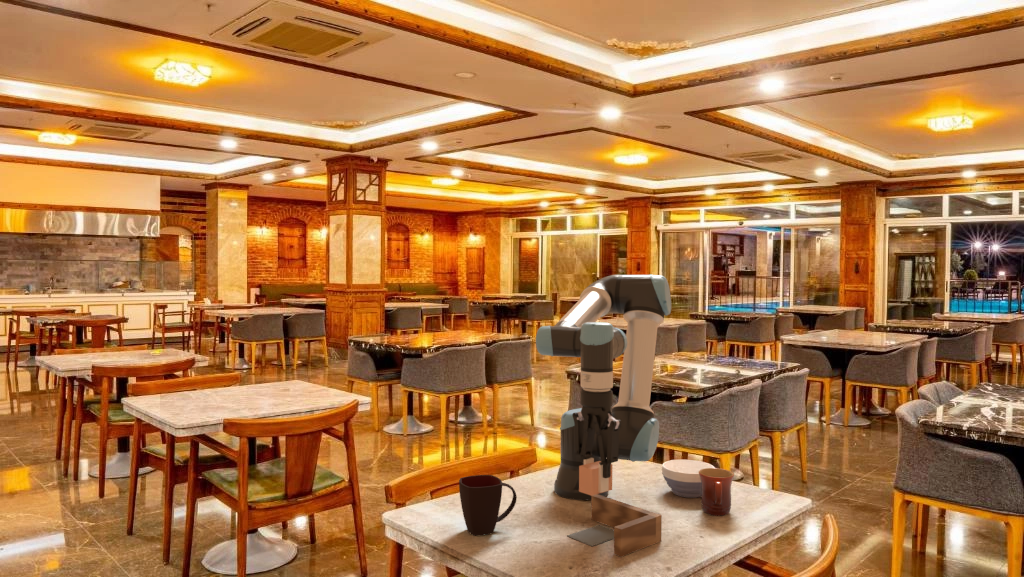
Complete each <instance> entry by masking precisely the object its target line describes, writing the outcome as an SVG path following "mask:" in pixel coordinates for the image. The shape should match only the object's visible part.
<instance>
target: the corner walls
mask: <svg viewBox="0 0 1024 577" xmlns="http://www.w3.org/2000/svg"><path fill="white" fill-rule="evenodd" d="M590 510H591V515H590V516H591V518H590V519H591V521H594V522H597V523H599V524H601V525H604V526H605V525H606V526H607V527H610V528H614V529H613V530H614V539H613V540H614V541H613V554H614V555H615V556H618V557H620V558H622V557H624V556H627V555H629V554H631V553H632V554H633V553H636V552H638V551H640V550H642V549H644V548H645V549H646V548H647V547H650V546H652V545H655V544H658V543H660V542H662V522H663V521H662V519H663V518H662V515H663V514H659V513H657V512H653V511H650V510H647V509H644V508H641V507H638V506H634V505H632V504H629V503H626V502H622V501H619V500H617V499H613V498H610V497H607V496H602V495H598V494H596V495H592V500H591V509H590Z"/></svg>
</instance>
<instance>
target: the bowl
mask: <svg viewBox="0 0 1024 577" xmlns="http://www.w3.org/2000/svg"><path fill="white" fill-rule="evenodd" d="M706 468H716V467H715V466H714V465H712V464H711V463H708V462H705V461H701V460H695V459H671V460H667V461H665V462H663V463H662V465H661V474H662V476H663V479H664V480H665V482H666V485H667V486H668V487H669V488H670V489H671V490H670V491H671V492H672V493H673V494H674V495H675V496H678V497H682V498H687V499H693V498H694V499H695V498H701V488H702V485H701V479H700V476H699V470H701V469H706Z"/></svg>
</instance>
